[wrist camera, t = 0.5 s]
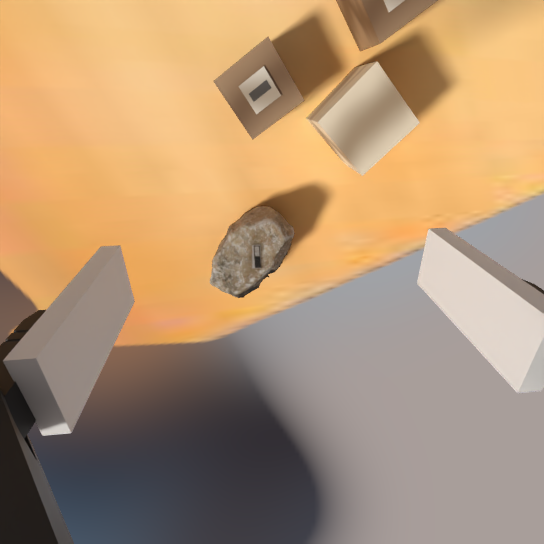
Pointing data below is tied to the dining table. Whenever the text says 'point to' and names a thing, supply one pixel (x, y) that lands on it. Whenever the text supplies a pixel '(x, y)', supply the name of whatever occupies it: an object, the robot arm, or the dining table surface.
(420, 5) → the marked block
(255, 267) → the stone
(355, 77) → the plain block
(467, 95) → the dining table surface
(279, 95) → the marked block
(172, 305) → the dining table surface
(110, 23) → the dining table surface
